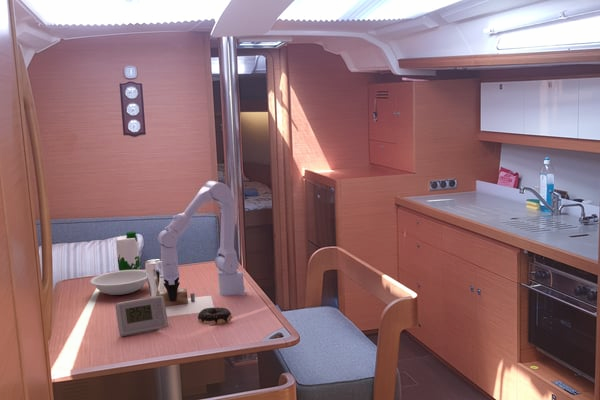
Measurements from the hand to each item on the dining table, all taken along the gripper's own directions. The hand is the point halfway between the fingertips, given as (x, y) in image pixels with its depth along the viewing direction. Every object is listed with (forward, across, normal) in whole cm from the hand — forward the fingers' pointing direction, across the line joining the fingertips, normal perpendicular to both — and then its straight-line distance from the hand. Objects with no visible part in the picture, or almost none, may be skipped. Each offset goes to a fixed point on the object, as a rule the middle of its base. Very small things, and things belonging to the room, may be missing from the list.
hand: (173, 299), depth 252 cm
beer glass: (+3, -12, -6) cm, 14 cm away
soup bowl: (+3, -28, -20) cm, 35 cm away
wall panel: (+3, +5, +3) cm, 6 cm away
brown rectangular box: (+2, 0, 0) cm, 2 cm away
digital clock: (+3, +25, -10) cm, 27 cm away
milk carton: (+3, -52, -18) cm, 55 cm away
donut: (+3, +23, +13) cm, 27 cm away
